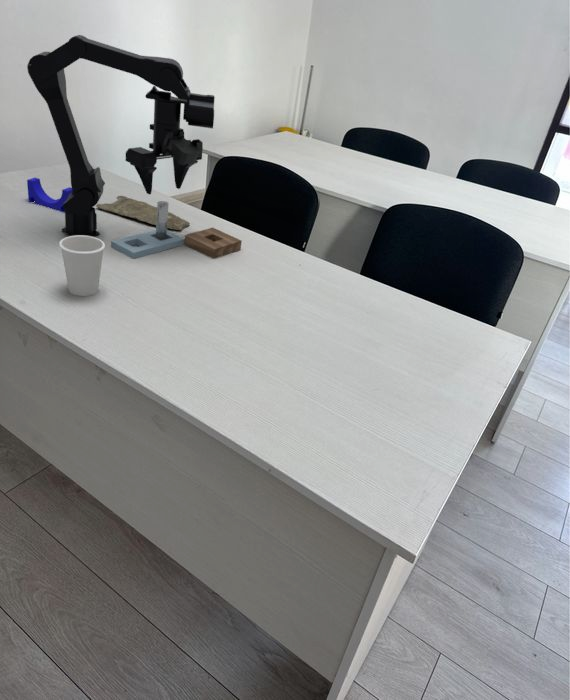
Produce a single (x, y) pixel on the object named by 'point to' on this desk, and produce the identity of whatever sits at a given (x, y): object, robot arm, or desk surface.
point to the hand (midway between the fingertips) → (163, 191)
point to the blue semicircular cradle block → (42, 198)
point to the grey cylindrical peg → (162, 220)
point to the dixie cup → (82, 263)
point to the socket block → (212, 242)
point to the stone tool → (142, 212)
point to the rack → (146, 243)
